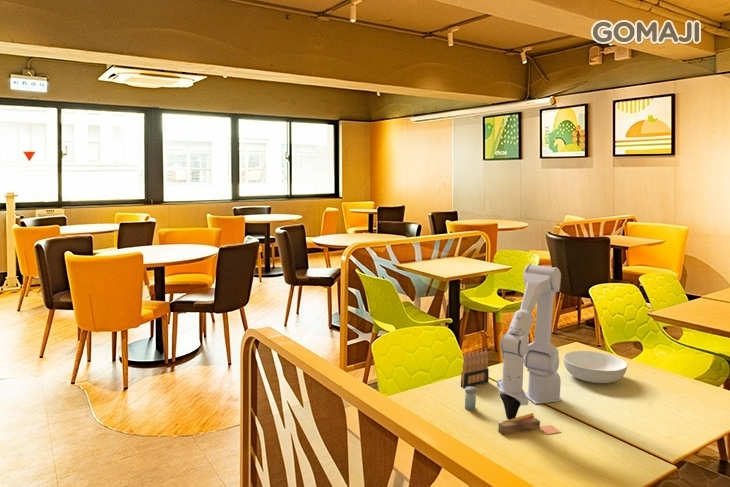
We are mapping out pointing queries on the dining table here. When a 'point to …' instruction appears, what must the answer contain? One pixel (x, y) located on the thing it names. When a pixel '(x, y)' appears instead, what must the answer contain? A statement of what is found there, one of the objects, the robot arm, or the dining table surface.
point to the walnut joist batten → (519, 426)
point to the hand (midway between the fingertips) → (510, 418)
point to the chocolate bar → (521, 418)
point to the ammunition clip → (475, 370)
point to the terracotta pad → (549, 429)
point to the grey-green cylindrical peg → (470, 398)
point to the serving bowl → (594, 366)
